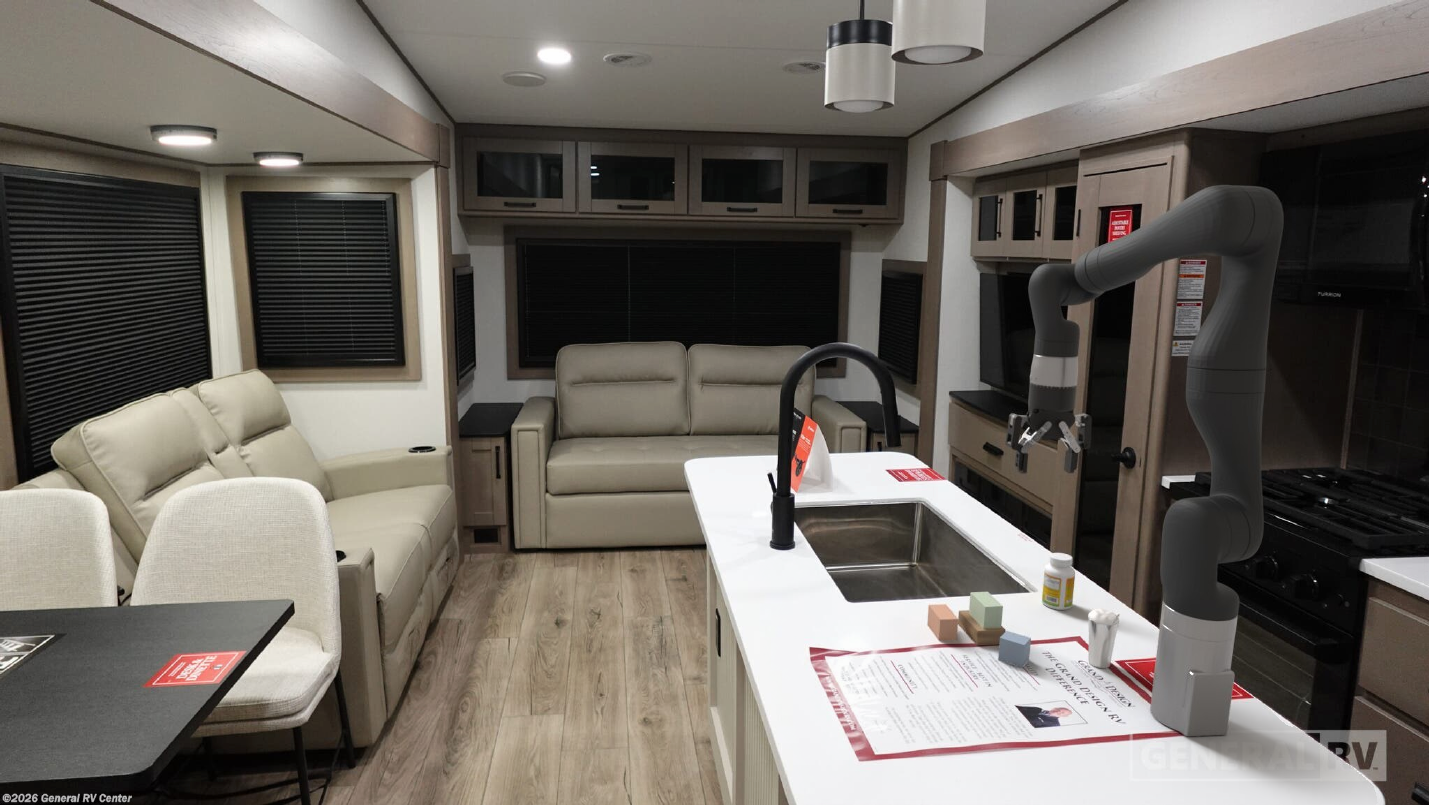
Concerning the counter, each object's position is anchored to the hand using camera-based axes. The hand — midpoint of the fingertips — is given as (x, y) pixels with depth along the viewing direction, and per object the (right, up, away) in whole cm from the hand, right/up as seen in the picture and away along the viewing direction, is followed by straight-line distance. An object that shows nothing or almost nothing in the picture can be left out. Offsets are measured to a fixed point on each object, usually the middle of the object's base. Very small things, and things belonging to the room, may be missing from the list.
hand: (1045, 472), depth 147 cm
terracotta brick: (-18, -28, +1) cm, 34 cm away
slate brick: (-9, -30, -9) cm, 33 cm away
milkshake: (+5, -31, -10) cm, 33 cm away
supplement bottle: (+7, -26, +13) cm, 30 cm away
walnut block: (-11, -29, +1) cm, 31 cm away
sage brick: (-11, -26, 0) cm, 28 cm away
